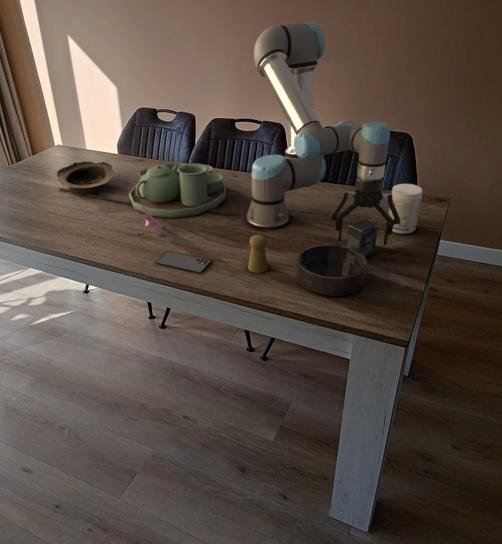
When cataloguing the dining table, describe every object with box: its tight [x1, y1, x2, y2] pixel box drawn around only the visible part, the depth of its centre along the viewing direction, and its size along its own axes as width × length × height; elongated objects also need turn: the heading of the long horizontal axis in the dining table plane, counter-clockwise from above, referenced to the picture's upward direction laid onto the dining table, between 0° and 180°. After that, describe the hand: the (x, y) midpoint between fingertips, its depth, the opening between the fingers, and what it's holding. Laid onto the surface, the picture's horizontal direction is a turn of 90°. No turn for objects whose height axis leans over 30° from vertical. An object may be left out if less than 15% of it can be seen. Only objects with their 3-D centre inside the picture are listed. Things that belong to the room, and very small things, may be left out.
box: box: [345, 218, 380, 258], centre depth 158 cm, size 8×6×11 cm
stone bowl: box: [56, 161, 115, 196], centre depth 221 cm, size 25×25×9 cm
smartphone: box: [156, 251, 211, 273], centre depth 163 cm, size 8×1×16 cm
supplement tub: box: [388, 183, 423, 235], centre depth 170 cm, size 10×10×15 cm
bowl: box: [295, 243, 368, 297], centre depth 148 cm, size 20×20×6 cm
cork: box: [247, 234, 268, 274], centre depth 155 cm, size 6×6×11 cm
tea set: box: [128, 162, 227, 218], centre depth 204 cm, size 40×40×16 cm
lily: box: [140, 206, 163, 236], centre depth 181 cm, size 12×12×10 cm
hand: (362, 241), depth 158 cm, fingers open, 13 cm apart
